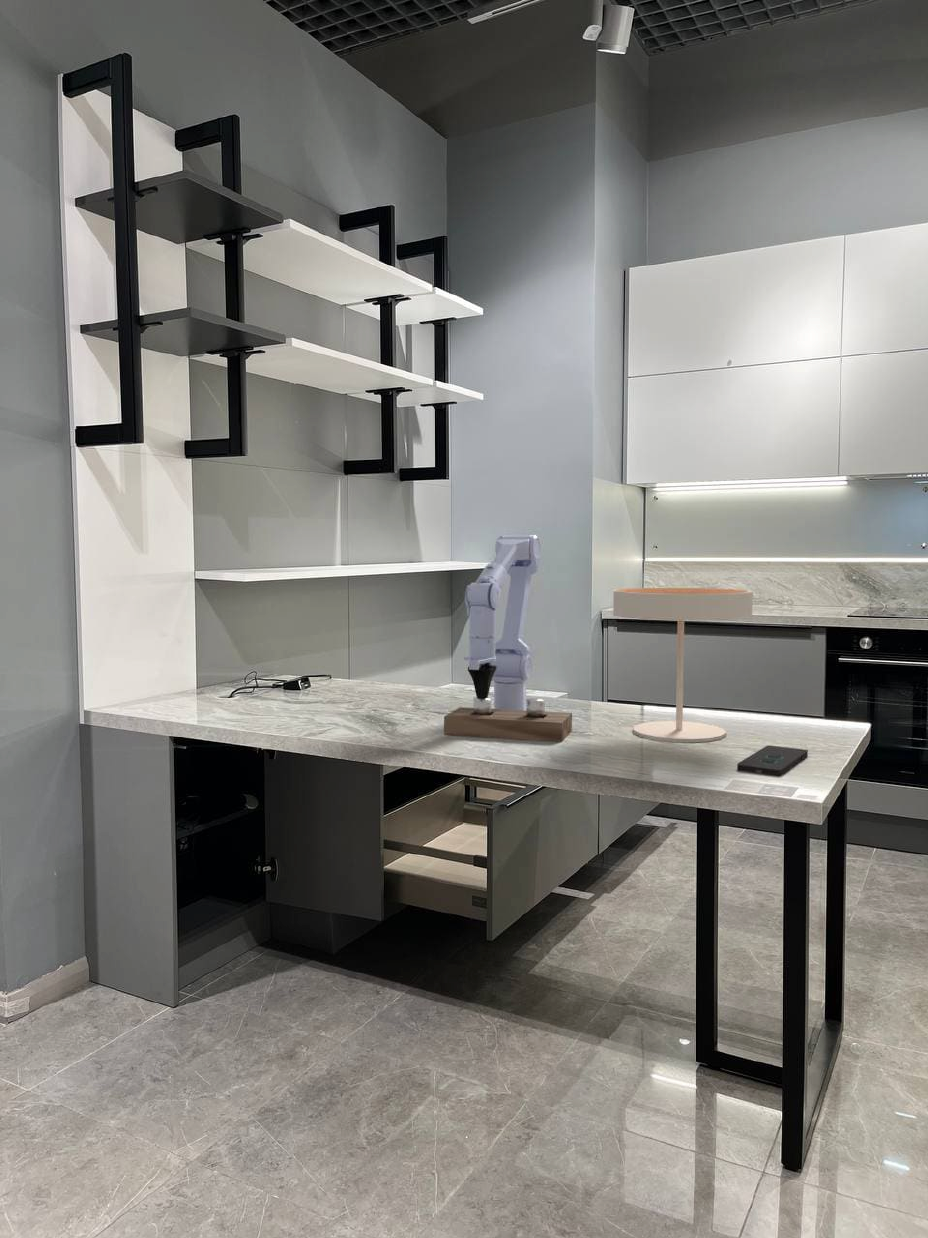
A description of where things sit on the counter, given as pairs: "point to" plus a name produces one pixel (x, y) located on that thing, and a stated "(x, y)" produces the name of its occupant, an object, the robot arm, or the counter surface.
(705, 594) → the desk lamp
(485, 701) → the peg
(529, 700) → the peg
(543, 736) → the wooden peg board
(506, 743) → the counter surface
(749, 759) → the smart home device
